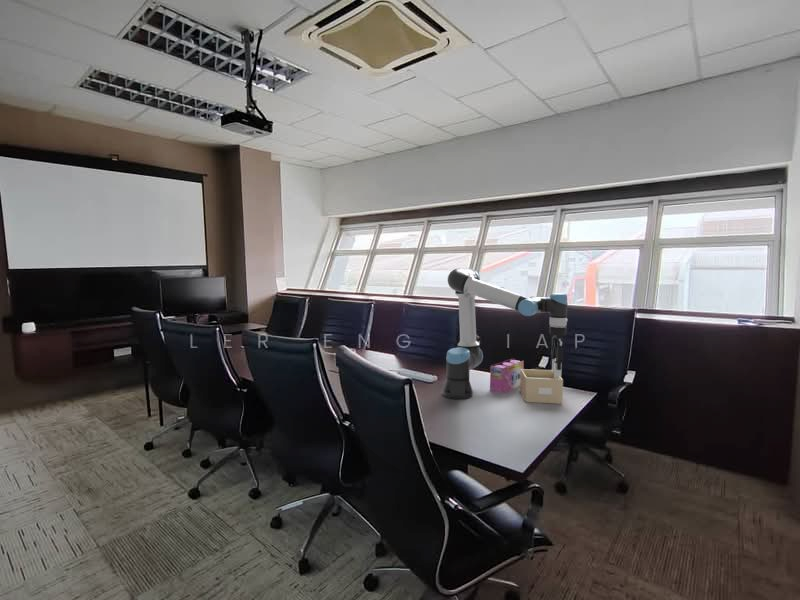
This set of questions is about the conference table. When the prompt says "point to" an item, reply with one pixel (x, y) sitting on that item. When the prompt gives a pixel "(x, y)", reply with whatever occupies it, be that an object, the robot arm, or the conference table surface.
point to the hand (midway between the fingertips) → (556, 374)
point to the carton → (533, 374)
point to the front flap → (544, 390)
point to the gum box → (505, 375)
